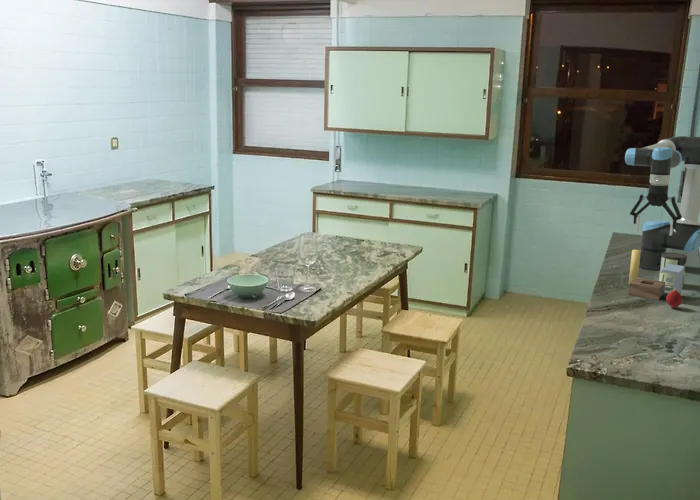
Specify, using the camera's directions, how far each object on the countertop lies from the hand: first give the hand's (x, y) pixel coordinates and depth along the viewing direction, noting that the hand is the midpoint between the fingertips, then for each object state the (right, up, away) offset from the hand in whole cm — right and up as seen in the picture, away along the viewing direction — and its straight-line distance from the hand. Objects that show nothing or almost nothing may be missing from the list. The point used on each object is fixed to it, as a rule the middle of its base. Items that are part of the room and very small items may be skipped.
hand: (653, 233), depth 283 cm
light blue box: (+4, -28, -5) cm, 28 cm away
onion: (-1, -31, -18) cm, 36 cm away
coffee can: (+14, -23, +13) cm, 30 cm away
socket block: (-3, -26, 0) cm, 26 cm away
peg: (-3, -23, +13) cm, 27 cm away
